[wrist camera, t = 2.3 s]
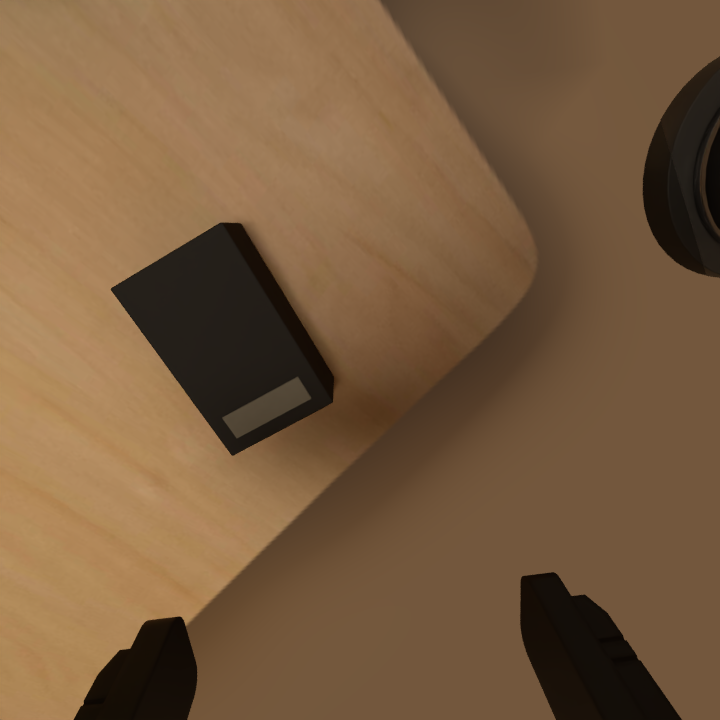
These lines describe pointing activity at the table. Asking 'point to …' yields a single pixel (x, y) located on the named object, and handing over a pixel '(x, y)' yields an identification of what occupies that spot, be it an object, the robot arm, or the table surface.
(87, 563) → the table surface
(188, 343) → the black box
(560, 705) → the robot arm
